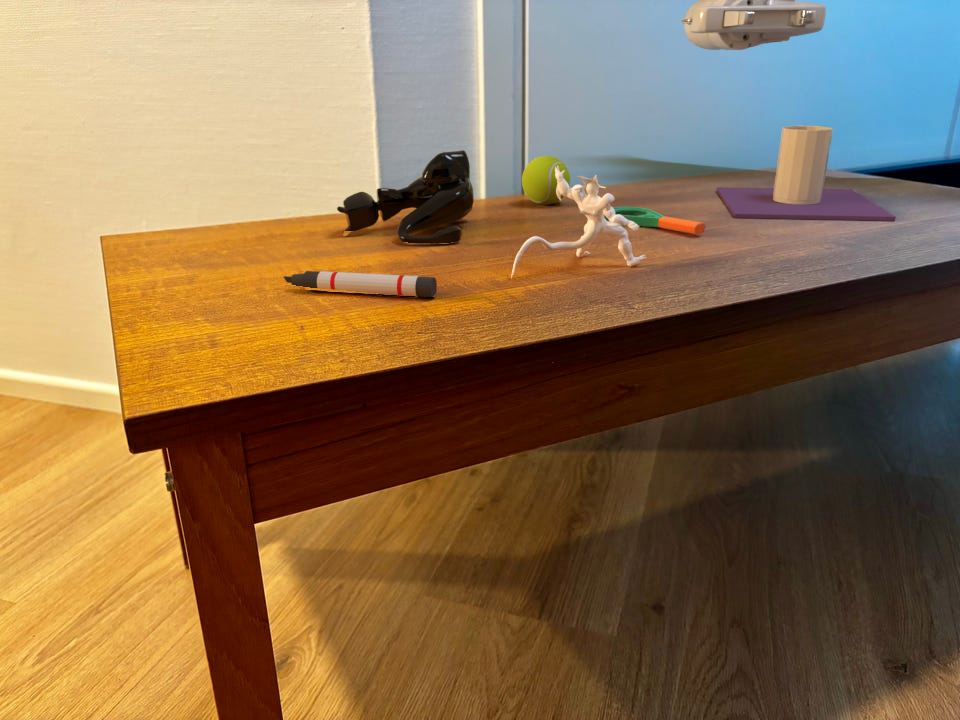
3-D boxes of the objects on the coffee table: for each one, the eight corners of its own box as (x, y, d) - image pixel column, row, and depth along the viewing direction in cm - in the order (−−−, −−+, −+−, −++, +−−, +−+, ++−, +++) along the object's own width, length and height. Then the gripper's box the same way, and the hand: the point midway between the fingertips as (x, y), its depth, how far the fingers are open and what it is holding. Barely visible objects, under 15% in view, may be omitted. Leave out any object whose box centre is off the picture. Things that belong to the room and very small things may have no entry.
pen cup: (814, 196, 108) (826, 125, 104) (825, 205, 102) (838, 130, 98) (768, 195, 109) (778, 125, 105) (777, 204, 103) (787, 130, 99)
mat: (850, 193, 113) (851, 189, 113) (895, 221, 95) (896, 216, 95) (716, 191, 117) (716, 187, 116) (734, 218, 98) (735, 213, 98)
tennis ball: (578, 203, 109) (580, 155, 107) (550, 211, 104) (551, 160, 102) (540, 198, 114) (541, 151, 111) (512, 205, 109) (512, 156, 106)
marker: (437, 294, 70) (436, 274, 69) (431, 301, 68) (430, 280, 67) (289, 286, 73) (287, 267, 72) (280, 292, 71) (277, 272, 71)
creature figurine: (659, 244, 79) (633, 154, 70) (636, 323, 73) (605, 235, 65) (561, 248, 84) (526, 165, 76) (532, 322, 79) (491, 241, 70)
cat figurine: (507, 255, 92) (371, 298, 88) (463, 205, 102) (339, 240, 97) (504, 185, 86) (357, 227, 81) (458, 138, 95) (323, 173, 90)
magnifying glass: (594, 219, 99) (595, 206, 98) (626, 213, 102) (627, 201, 101) (682, 240, 87) (684, 226, 87) (715, 233, 91) (717, 219, 90)
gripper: (679, -1, 118) (714, -7, 105) (800, -2, 120) (849, -8, 107) (675, 42, 120) (709, 42, 107) (794, 40, 122) (841, 39, 109)
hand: (780, 17), depth 107 cm, fingers open, 8 cm apart
